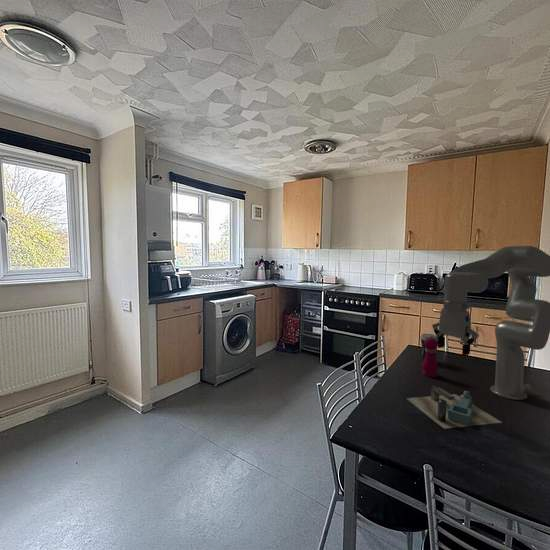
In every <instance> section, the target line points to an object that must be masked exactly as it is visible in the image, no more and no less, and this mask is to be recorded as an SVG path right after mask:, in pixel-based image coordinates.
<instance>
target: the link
mask: <svg viewBox="0 0 550 550" xmlns="http://www.w3.org/2000/svg"><path fill="white" fill-rule="evenodd" d="M459 397H460V400H459V402H458V404H457V405H455V404H451V406H450V408H449V410H448V419H451V420H455V421H458V422H461V423H464V424H468V425H469V423H470V421H471V418H472V409H469V408H470V407H472V404H473V397H472V396H470V391H468V390H464V391H463V394H460V395H459Z"/></svg>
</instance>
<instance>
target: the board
mask: <svg viewBox="0 0 550 550" xmlns="http://www.w3.org/2000/svg"><path fill="white" fill-rule="evenodd" d="M439 399H443V400H445V401H447V405H446V421H445V422H441V421H439V420H438V400H439ZM406 400H407V401H408V402H410V403H411V404H412V405H413V406H415V407H416V408H417V409H419V411H421V412H422V413H424V414H425V415H426V416H427V417H428V418H430V419H431V420H432V421H434V422H435V423H436V424H437V425H439V426H440V427H442V429H445V430H446V429H454V428H465V427H474V426H482V425H492V424H501V423H503V422H502V421H501V420H499V419H498V418H495V417H494V416H492V415H491V414H489V413H488V412H486V411H484V410H483V409H481V408H479V407H478V406H476V405H474V404H473V403H472V407H470V408H469V409H472V418H471V421H470V423H469V425H468V424H464V423H461V422H458V421H455V420H451V419H448V410H449V408H450V406H451V404H455V405H457V404H458V402H459V400H460V395H457V394H456V393H455V394H454V393H453V394H452V393H449V392H448V391H446V390H444V389H443V388H441V387H439V386H438V385H437V384H436V385H431V391H430V396H420V397H408V398H406Z"/></svg>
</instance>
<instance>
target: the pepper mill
mask: <svg viewBox="0 0 550 550" xmlns="http://www.w3.org/2000/svg"><path fill="white" fill-rule="evenodd" d="M424 345H425V347H426V348H425V351H426V357H425V359H424V361H422V364H421V367H422V369H423V370H422V375H423V374H424V375H423V376H425V375H426V376H425V377H427V376H430V377H429V378H436V377H437V376H438V372H437V371H438V370H439V364H438V362H437V358H436V359H435V352H436V348H437V349H438V343H437V341H436V340H434V339H433V336H429V339H426V340H425V342H424Z"/></svg>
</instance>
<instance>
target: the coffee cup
mask: <svg viewBox="0 0 550 550" xmlns="http://www.w3.org/2000/svg"><path fill="white" fill-rule="evenodd" d="M429 336H433V339H434V340H436V341H437V343H438V337H437V336H436V334H433V333H421V335H420V337H419V339H420V345H421V359H422V362H423V361H424V359H425V357H426V351H425V348H426V347H425V345H424V342H425V340H426V339H429ZM437 352H438V347H437V348H436V352H435V359H436V360H437Z"/></svg>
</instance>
